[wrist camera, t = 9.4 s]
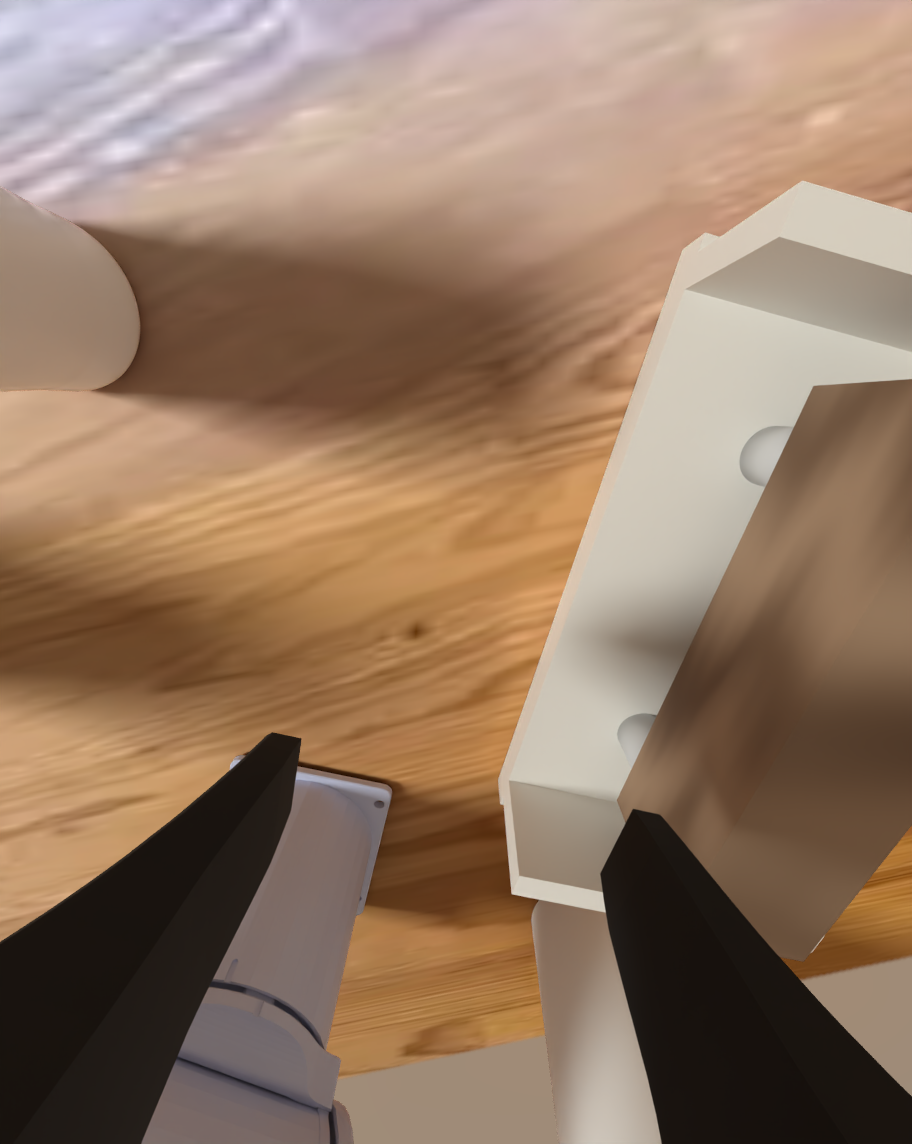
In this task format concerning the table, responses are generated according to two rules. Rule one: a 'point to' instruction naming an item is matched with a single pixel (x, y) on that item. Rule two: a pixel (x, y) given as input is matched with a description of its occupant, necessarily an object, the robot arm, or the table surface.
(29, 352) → the drinking glass
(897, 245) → the shelf stand
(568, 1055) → the cylindrical container
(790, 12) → the table surface
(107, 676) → the table surface
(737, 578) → the brown wooden bar
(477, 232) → the table surface
